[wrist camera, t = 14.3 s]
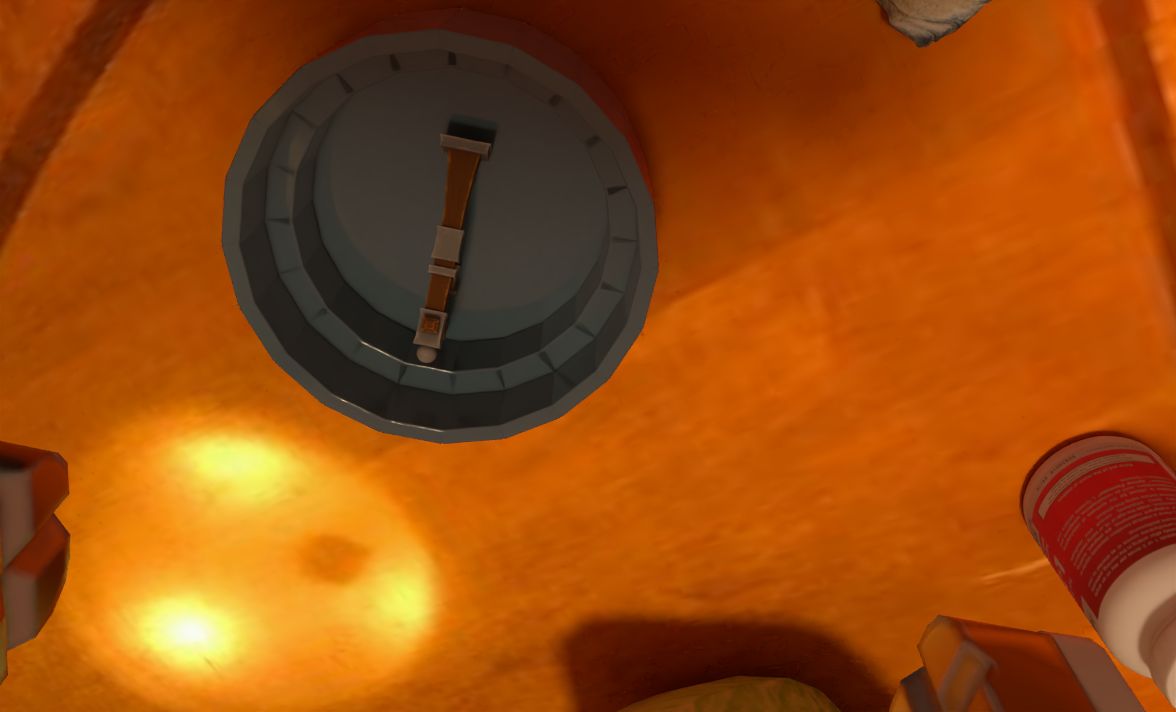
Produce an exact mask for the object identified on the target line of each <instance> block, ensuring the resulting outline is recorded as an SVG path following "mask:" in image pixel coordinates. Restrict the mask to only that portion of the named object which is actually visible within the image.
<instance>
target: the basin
mask: <svg viewBox="0 0 1176 712" xmlns="http://www.w3.org/2000/svg"><path fill="white" fill-rule="evenodd" d="M440 134H444V135H449V136H454V137H459V138H464V139H468V140H473V141H478V142H483V143H488V144H491V149H492V153H491V154H490V156H489V162H486V161H481V162H480V165H479V168H478V171H477V173H476V176H475V180H474V184H473V187H472V191H471V195H470V198H469V202H468V206H467V209H466V213H465V218H464V223H463V228H462V230H463V231H464V232H465V235H464V238H463V241H462V246H461V252H460V264H458V263H456V265H459V266H461V269H460V270H459V272H458V276H457V280H456V284H455V292H458V295H454V296H452V297H449V298H448V301H447V305H449V307H447V308H446V310H445V313H447V314H448V318H447V320H446V323H448V325H447V331H446V336H445V340H444V339H442V346H441V349H439V348H436V351H437V355H436V358H435V359H434V360H433V361H432V362H430V363H424V362H421V361H420V360H419V359H418V357H417V349H418V347H419V346H420V345H419V344H415V343H413V342H414V339H415V336H416V332H417V327H418V322H419V318H420V308H424V309H425V304H426V299H427V294H428V289H429V284H430V279H431V274H430V273H428V271H429V265H433V264H434V259H433V258H431V255H432V253H433V250H434V246H435V241H436V236H437V226H441V224H442V218H443V212H444V204H445V192H446V179H447V153H443V152H442V150H441V147H440V145H439V144H440V142H441V136H440ZM222 248H223V251H224V255H225V259H226V262H227V266H228V269H229V273H230V277H231V280H232V284H233V288H234V291H235V295H236V298H237V302H238V305H239V306H240V310H241V311H242V313H243V314H244V316H245V317H246V319H247V320H248V322H249V324H250V325H251V327H252V328H253V330H254V331H255V333H256V334H257V336H258V338H259V339H260V341H261V342H262V344H263V345H264V347H265V348H266V350H267V352H268V353H269V355H270V356H271V358H272V359H273V361H275V363H276V364H277V365H278V366H279V367H281V368H282V369H283V370H284V371H285V372H286V373H287V374H289V375H290V376H291V377H292V378H293V379H294V380H295V381H297V382H298V383H299V384H300V385H301V386H302V387H303V388H305V389H306V390H307V391H308V392H309V393H310V394H311V395H313V396H314V397H315V398H316V399H317V400H318V401H319V402H321V403H322V404H324V405H325V406H327V407H329V408H331V409H333V410H335V411H337V412H339V413H341V414H343V415H345V416H348V417H350V418H352V419H354V420H356V421H358V422H360V423H362V424H364V425H366V426H368V427H370V428H372V429H374V430H376V431H378V432H380V431H381V432H382V433H387V434H392V435H397V436H402V437H408V438H413V439H418V440H424V441H429V442H434V443H439V444H442V443H443V444H449V443H461V442H473V441H486V440H498V439H503V438H504V439H506V438H508V437H511V436H514V435H516V434H519V433H522V432H524V431H527V430H529V429H532V428H535V427H537V426H540V425H543V424H545V423H548V422H550V421H553V420H556V419H558V418H560V417H562V416H563V415H565V414H566V413H567V412H568V411H570V410H571V409H572V408H574V407H575V406H576V405H577V404H579V403H580V402H581V401H582V400H584V399H585V398H586V397H588V396H589V395H590V394H591V393H593V392H594V391H595V390H597V389H598V388H599V387H600V386H602V385H603V384H604V383H606V382H607V381H608V379H610V377H611V376H612V375H613V373H614V372H615V370H616V369H617V367H618V366H619V364H620V363H621V361H622V360H623V358H624V357H625V355H626V354H627V352H628V351H629V349H630V348H631V346H632V345H633V343H634V342H635V340H636V339H637V337H638V336H639V334H640V333H641V331H642V329H643V327H644V323H645V320H646V316H647V312H648V308H649V305H650V301H651V297H652V293H653V290H654V286H655V282H656V278H657V275H658V271H659V270H658V268H659V263H658V249H657V235H656V221H655V207H654V201H653V195H652V189H651V183H650V178H649V172H648V167H647V162H646V158H645V155H644V153H643V151H642V148H641V146H640V143H639V141H638V139H637V136H636V134H635V131H634V129H633V127H632V124H631V122H630V120H629V117H628V115H627V112H626V110H625V108H624V106H623V105H622V102H621V101H620V100H619V99H618V98H617V96H616V95H615V94H614V93H613V92H612V91H611V89H610V88H609V87H608V86H607V85H606V84H605V83H604V81H603V80H602V79H601V78H600V77H599V76H598V74H597V73H596V72H595V71H594V70H593V69H592V67H591V66H590V65H589V64H588V63H587V62H586V61H585V59H584V58H583V57H582V56H581V57H580V55H579V54H578V53H576V52H574V51H573V50H571V49H569V48H568V47H566V46H564V45H563V44H561V43H559V42H558V41H556V40H554V39H553V38H551V37H550V36H548V35H546V34H545V33H543V32H541V31H540V30H538V29H536V28H535V27H533V26H531V25H530V24H528V23H524V22H523V21H519V20H515V19H510V18H506V17H501V16H497V15H493V14H488V13H484V12H480V11H475V10H471V9H466V8H462V9H461V7H457V8H448V9H438V10H429V11H419V12H409V13H400V14H397V15H394V16H391V17H389V18H387V19H385V20H383V21H381V22H379V23H377V24H375V25H373V26H371V27H368V28H366V29H364V30H362V31H360V32H358V33H356V34H354V35H352V36H350V37H348V38H345V39H343V40H342V41H340V42H339V43H337V44H335V45H334V46H332V47H331V48H329V49H328V50H326V51H325V52H323V53H321V54H320V55H318V56H317V57H315V58H314V59H312V60H310V61H309V62H307V63H306V64H304V65H303V66H301V67H300V68H299V69H297V71H296V72H295V73H294V74H293V75H292V76H291V77H290V78H289V79H288V80H287V81H286V82H285V83H284V84H283V85H282V86H281V87H280V88H279V89H278V90H277V91H276V92H275V93H274V94H273V95H272V96H271V97H270V98H269V99H268V100H267V102H266V103H265V104H264V105H263V106H262V107H261V108H260V109H259V110H258V111H257V112H256V113H255V114H254V115H253V117H252V118H251V120H250V122H249V124H248V127H247V129H246V131H245V133H244V136H243V138H242V140H241V143H240V145H239V147H238V150H237V152H236V154H235V157H234V159H233V161H232V164H231V166H230V168H229V171H228V173H227V175H226V180H225V190H224V207H223V224H222Z"/></svg>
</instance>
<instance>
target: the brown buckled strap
mask: <svg viewBox="0 0 1176 712" xmlns="http://www.w3.org/2000/svg"><path fill="white" fill-rule="evenodd" d="M440 136H441V142H440V144H439V145H440V147H441V150H442V152H443V153H447V179H446V192H445V204H444V212H443V218H442V224H441V226H437V236H436V241H435V246H434V250H433V253H432V255H431V258H433V259H434V264H433V265H429V271H428V273H430V274H431V279H430V284H429V289H428V294H427V299H426V304H425V309H424V308H420V318H419V322H418V327H417V332H416V336H415V339H414V342H413V343H415V344H419V345H420V346H419V347H418V349H417V357H418V359H419V360H420V361H421V362H424V363H430V362H432V361H433V360H434V359H435V358H436V355H437V351H436V348H439V349H441V346H442V339H444V340H445V336H446V331H447V325H448V323H446V320H447V318H448V314H447V313H445V310H446V308H447V307H449V305H447V301H448V298H449V297H452V296H454V295H458V292H455V284H456V280H457V276H458V272H459V270H460V269H461V266H459V265H456V263H458V264H460V252H461V246H462V241H463V238H464V235H465V232H464V231H463V230H462V228H463V223H464V218H465V213H466V209H467V206H468V202H469V198H470V195H471V191H472V187H473V184H474V180H475V176H476V173H477V171H478V168H479V165H480V162H481V161H486V162H489V156H490V154H491V153H492V149H491V144H488V143H483V142H478V141H473V140H468V139H464V138H459V137H454V136H449V135H444V134H440Z"/></svg>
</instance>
